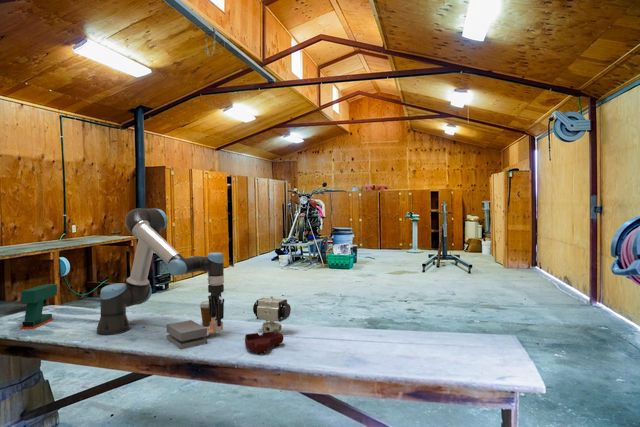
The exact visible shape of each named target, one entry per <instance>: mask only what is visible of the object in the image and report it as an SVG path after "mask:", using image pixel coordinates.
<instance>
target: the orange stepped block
mask: <svg viewBox="0 0 640 427" xmlns="http://www.w3.org/2000/svg"><path fill="white" fill-rule="evenodd" d="M223 323H224V322H223V321H222V320H221V331H223V330H224V328H223V327H224V324H223ZM206 328H207V327H206ZM207 333H209V335H210V334H214V333H215V321H212V322H210V326H209V328H207ZM215 334H216V333H215Z"/></svg>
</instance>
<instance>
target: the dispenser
mask: <svg viewBox="0 0 640 427" xmlns="http://www.w3.org/2000/svg"><path fill="white" fill-rule="evenodd" d="M165 328H166V333H168V334H166V340H167V341H168V342H170V343H172V344H173V345H174V346H176V347H177V348H178V349H180V350H183V349H188V348H192V347H197V346H202V345H205V344H206V345H207V343H208V339H207V338H206V337H208V336H209V335H210V334H209V333H207V326H203V324H199V322H195V321H194V320H192V319H190V320H185V321H184V320H183V321H177V322H173V323H168V324H167V323H166V326H165Z"/></svg>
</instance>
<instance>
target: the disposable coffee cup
mask: <svg viewBox="0 0 640 427" xmlns="http://www.w3.org/2000/svg"><path fill="white" fill-rule="evenodd" d="M199 307H200V314H201V322H202V326H204V327H210V322H211V315H209V300H206V301H202V302H200V303H199Z"/></svg>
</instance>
